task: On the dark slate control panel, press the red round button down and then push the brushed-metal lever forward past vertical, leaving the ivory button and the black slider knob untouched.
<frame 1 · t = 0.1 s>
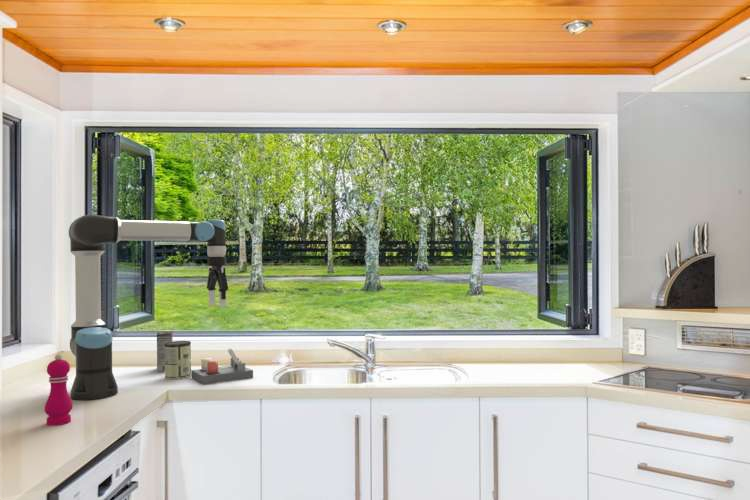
hand: (217, 306, 244), 28 cm above the worktop, tool pointing down, fingers open, 13 cm apart
coffee can: (177, 377, 236), on the worktop
panel: (222, 377, 233), on the worktop
pepper mill: (58, 423, 170), on the worktop
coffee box: (165, 369, 253), on the worktop
lever: (235, 358, 232), point 8 cm above the worktop, hinge at -30.0°
button ivory: (206, 365, 233), point 5 cm above the worktop, slide at 0.0 cm
button red: (212, 368, 227), point 5 cm above the worktop, slide at 0.0 cm
slider knob: (234, 362, 240), point 5 cm above the worktop, slide at 2.0 cm
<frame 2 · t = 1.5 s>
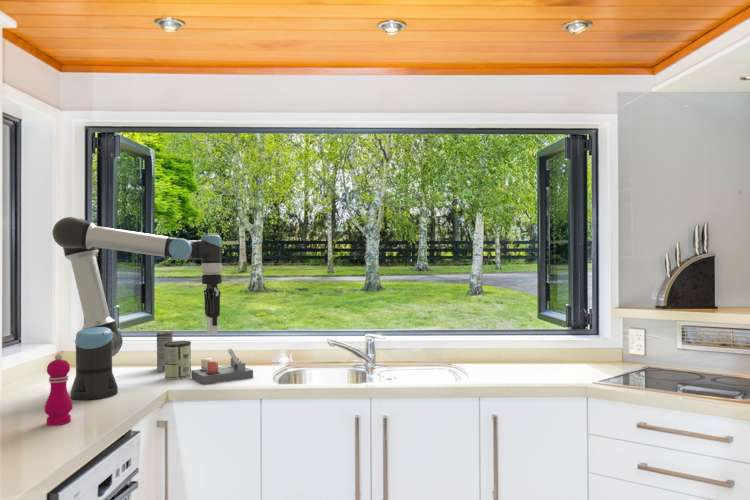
hand: (212, 333, 227), 19 cm above the worktop, tool pointing down, fingers open, 3 cm apart
nothing on the worktop moved.
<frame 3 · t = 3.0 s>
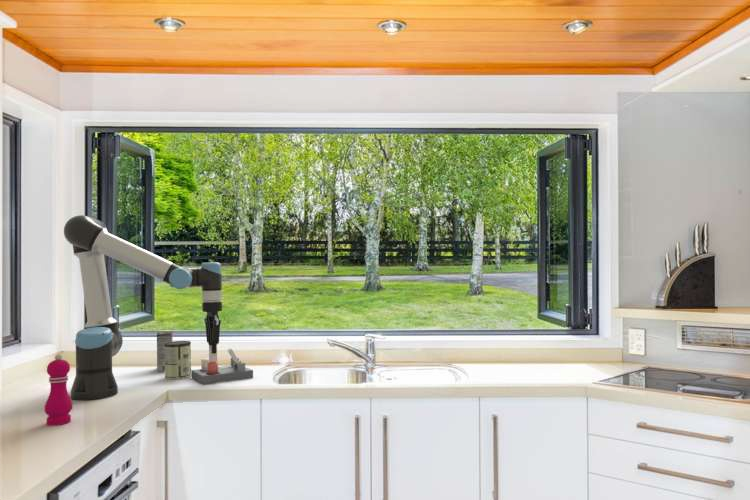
hand: (213, 361, 227), 8 cm above the worktop, tool pointing down, fingers closed
button red: (212, 368, 227), point 5 cm above the worktop, slide at 0.1 cm, touching gripper
everything else where it was.
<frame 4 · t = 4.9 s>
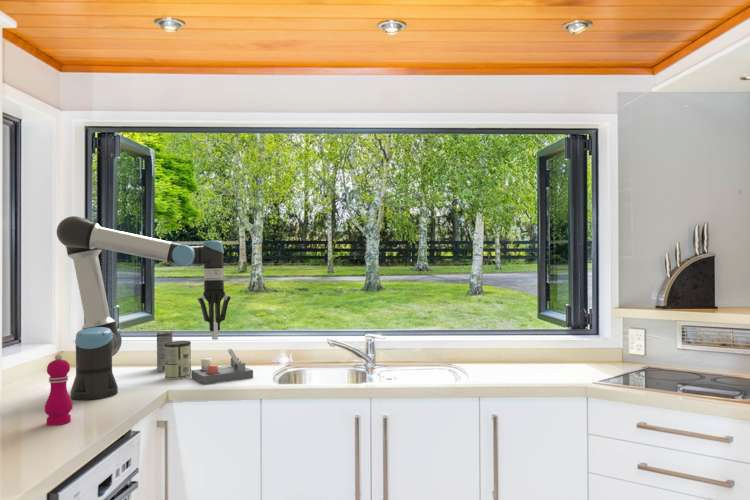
hand: (214, 339, 228), 16 cm above the worktop, tool pointing down, fingers closed
button red: (212, 372, 227), point 3 cm above the worktop, slide at 1.6 cm
everything else where it was.
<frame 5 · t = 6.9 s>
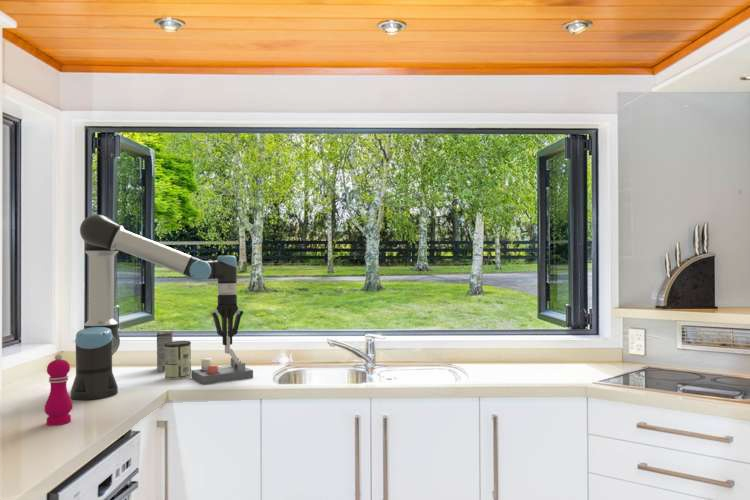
hand: (227, 353, 230), 10 cm above the worktop, tool pointing down, fingers closed
lever: (235, 358, 232), point 8 cm above the worktop, hinge at -29.2°, touching gripper
everything else where it was.
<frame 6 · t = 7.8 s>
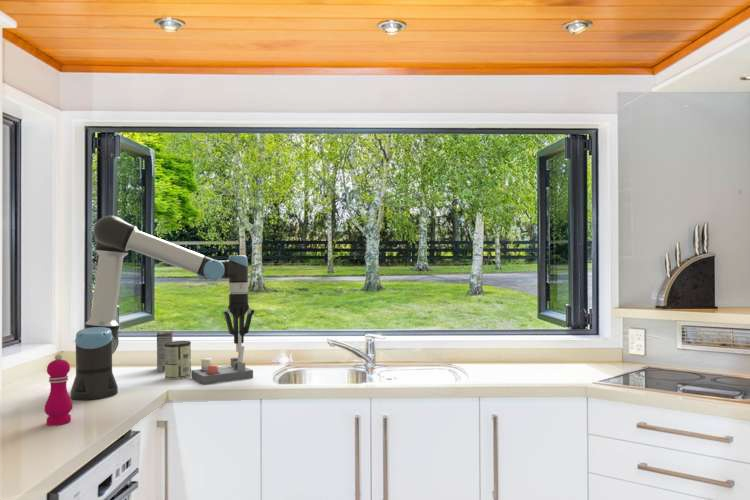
hand: (238, 351, 233), 10 cm above the worktop, tool pointing down, fingers closed
lever: (240, 357, 234), point 8 cm above the worktop, hinge at 8.5°, touching gripper
everything else where it was.
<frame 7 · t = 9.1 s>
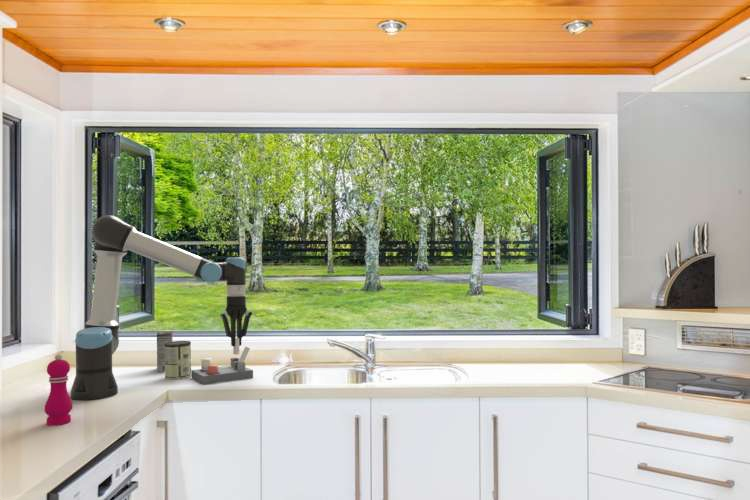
hand: (236, 354, 233), 9 cm above the worktop, tool pointing down, fingers closed
lever: (242, 357, 234), point 8 cm above the worktop, hinge at 26.8°
everything else where it was.
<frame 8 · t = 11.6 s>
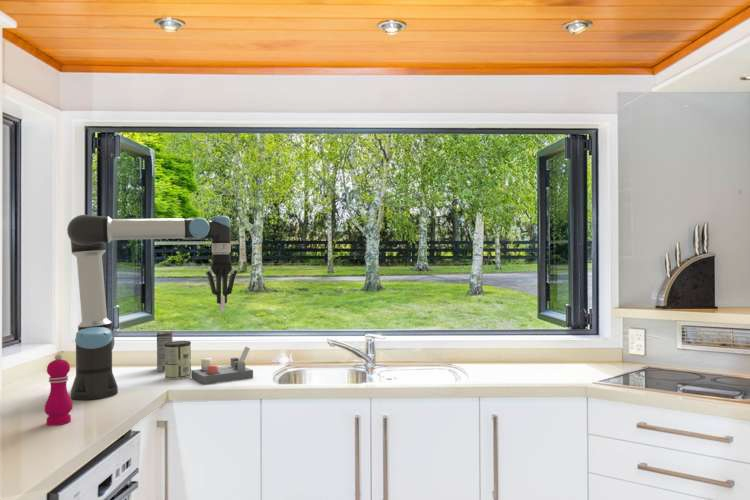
hand: (222, 311, 235), 26 cm above the worktop, tool pointing down, fingers closed
nothing on the worktop moved.
at the end: button red slide at 1.6 cm; lever at +27° (first picture: -30°); button ivory slide at 0.0 cm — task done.
